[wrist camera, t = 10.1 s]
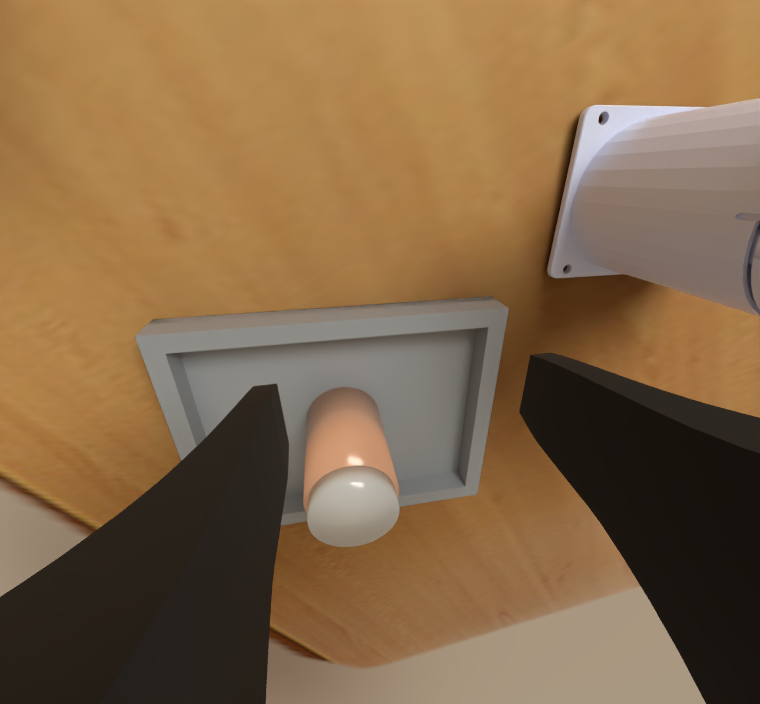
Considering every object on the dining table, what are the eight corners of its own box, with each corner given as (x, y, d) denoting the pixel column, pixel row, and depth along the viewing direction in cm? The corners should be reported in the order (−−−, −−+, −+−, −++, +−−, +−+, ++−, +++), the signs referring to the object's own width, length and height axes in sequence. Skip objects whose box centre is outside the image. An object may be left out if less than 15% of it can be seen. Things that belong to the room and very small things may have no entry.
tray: (491, 296, 20) (509, 308, 18) (466, 473, 26) (477, 494, 24) (153, 319, 17) (134, 335, 15) (217, 509, 23) (209, 536, 22)
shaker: (372, 379, 20) (396, 468, 14) (383, 435, 22) (409, 535, 16) (298, 396, 20) (289, 495, 14) (317, 452, 22) (317, 559, 16)
